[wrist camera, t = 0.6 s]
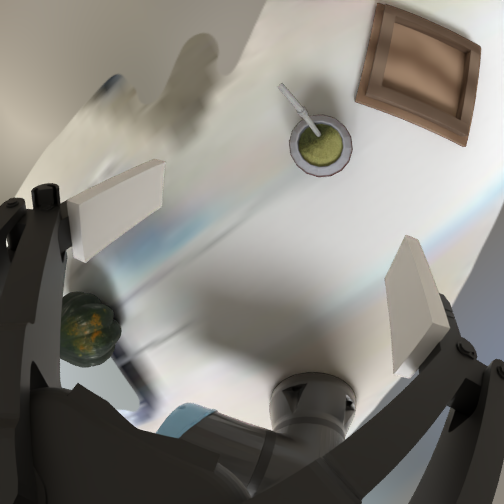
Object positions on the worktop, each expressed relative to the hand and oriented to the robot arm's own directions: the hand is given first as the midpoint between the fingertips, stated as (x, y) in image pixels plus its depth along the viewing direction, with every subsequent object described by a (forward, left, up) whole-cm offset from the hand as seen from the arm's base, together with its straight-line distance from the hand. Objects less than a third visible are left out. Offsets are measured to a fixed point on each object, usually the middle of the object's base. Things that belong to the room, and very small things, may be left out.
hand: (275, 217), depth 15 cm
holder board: (+20, -11, -25) cm, 34 cm away
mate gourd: (+5, 0, -25) cm, 26 cm away
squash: (-35, +31, -25) cm, 53 cm away
